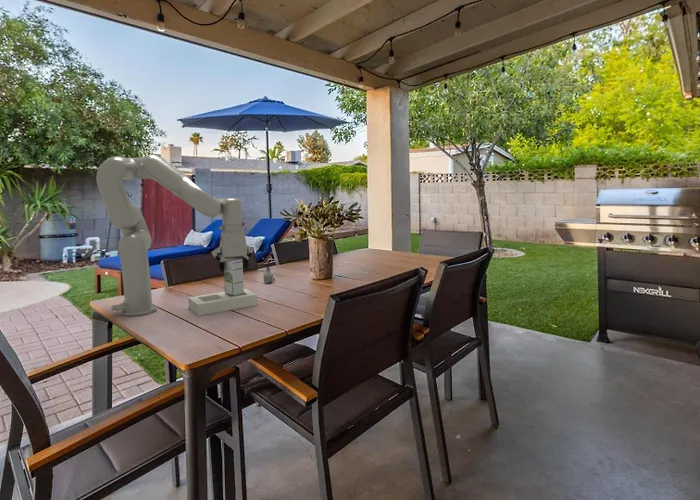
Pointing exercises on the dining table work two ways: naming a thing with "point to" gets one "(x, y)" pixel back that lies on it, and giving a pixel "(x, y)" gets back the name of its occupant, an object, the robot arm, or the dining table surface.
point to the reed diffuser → (268, 269)
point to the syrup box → (233, 276)
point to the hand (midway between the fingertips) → (233, 269)
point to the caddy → (221, 302)
